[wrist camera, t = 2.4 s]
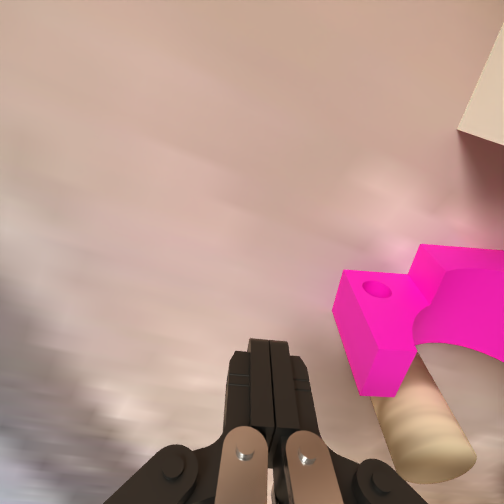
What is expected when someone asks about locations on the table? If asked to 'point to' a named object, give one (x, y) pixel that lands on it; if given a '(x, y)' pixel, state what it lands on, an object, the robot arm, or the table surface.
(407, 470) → the birch cylinder
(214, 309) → the table surface
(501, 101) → the beige cube
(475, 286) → the toy block
